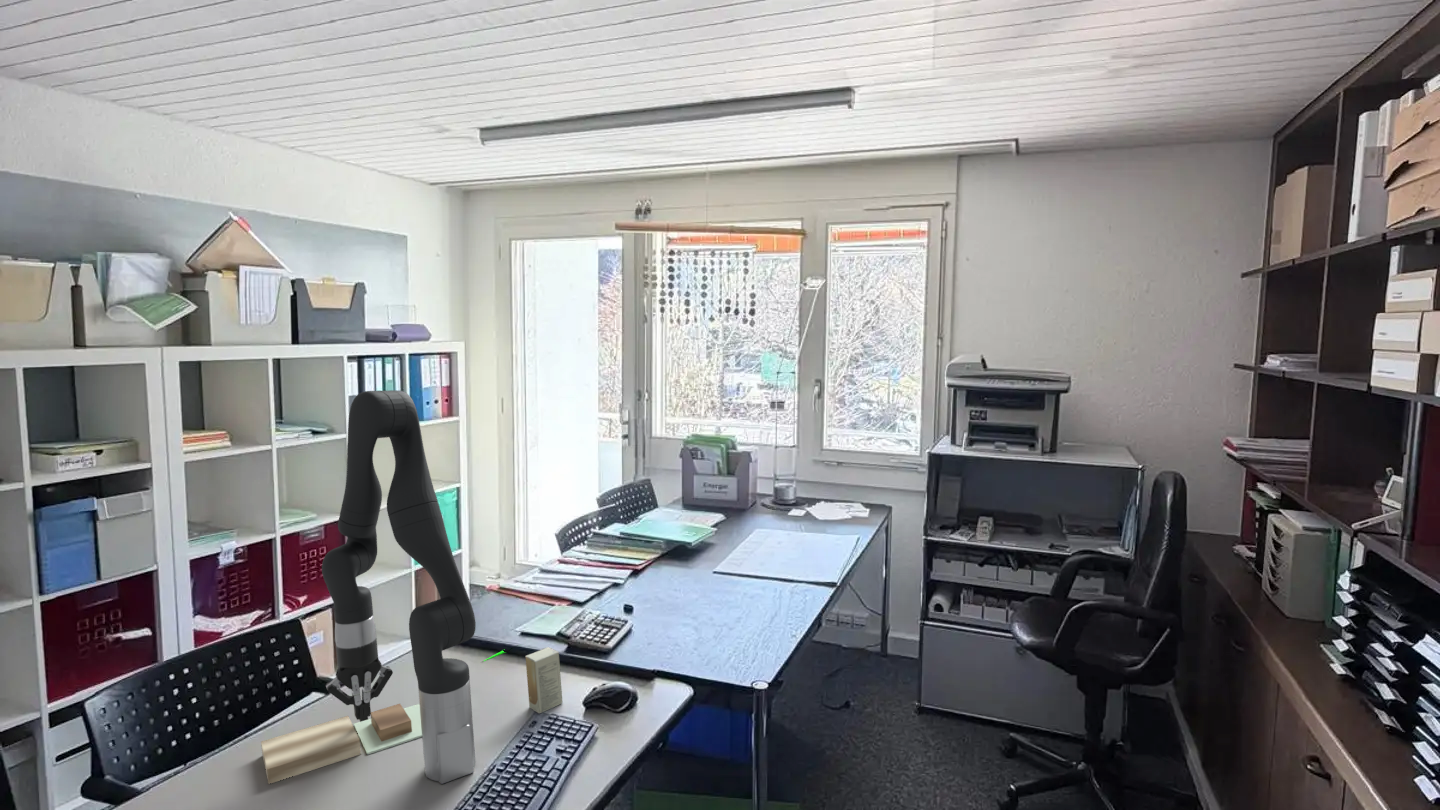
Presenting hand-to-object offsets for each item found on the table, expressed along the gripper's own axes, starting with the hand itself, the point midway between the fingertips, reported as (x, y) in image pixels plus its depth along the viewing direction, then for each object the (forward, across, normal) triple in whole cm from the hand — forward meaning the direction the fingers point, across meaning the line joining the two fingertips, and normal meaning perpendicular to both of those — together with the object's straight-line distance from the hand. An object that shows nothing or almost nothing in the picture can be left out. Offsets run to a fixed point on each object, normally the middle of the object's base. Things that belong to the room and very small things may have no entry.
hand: (363, 719), depth 159 cm
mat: (+4, +9, 0) cm, 10 cm away
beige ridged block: (+4, -10, 0) cm, 11 cm away
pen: (+5, +37, +22) cm, 43 cm away
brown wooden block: (+3, +5, 0) cm, 6 cm away
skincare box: (+4, +35, -11) cm, 37 cm away
